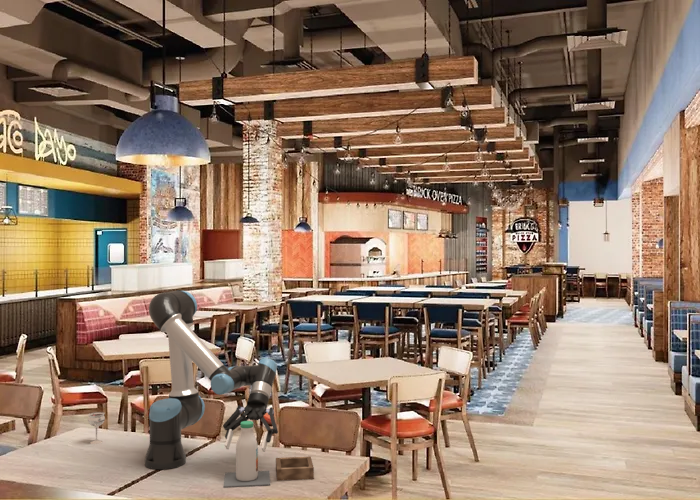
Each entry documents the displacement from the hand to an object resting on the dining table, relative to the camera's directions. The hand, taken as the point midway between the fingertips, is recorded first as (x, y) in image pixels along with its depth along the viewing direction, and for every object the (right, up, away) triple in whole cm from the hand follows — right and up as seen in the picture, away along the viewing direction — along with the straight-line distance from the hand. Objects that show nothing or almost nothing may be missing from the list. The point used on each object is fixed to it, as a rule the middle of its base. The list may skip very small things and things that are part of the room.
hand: (244, 448), depth 243 cm
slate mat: (0, -12, +2) cm, 12 cm away
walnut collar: (+17, -12, +9) cm, 22 cm away
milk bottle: (0, -11, +3) cm, 12 cm away
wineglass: (-69, -11, +46) cm, 84 cm away
